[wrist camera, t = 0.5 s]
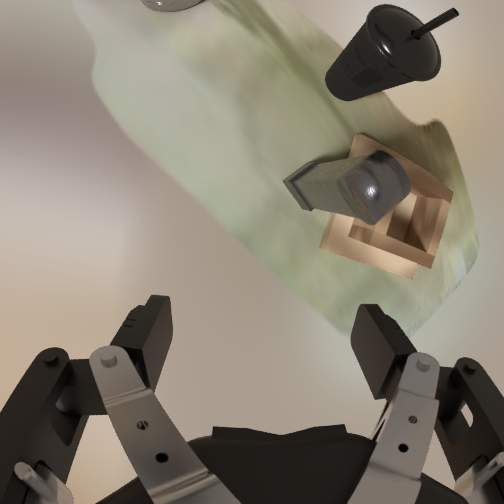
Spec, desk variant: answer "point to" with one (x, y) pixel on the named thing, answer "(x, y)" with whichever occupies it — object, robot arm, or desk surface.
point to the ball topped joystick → (351, 186)
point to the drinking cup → (387, 53)
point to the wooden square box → (394, 222)
